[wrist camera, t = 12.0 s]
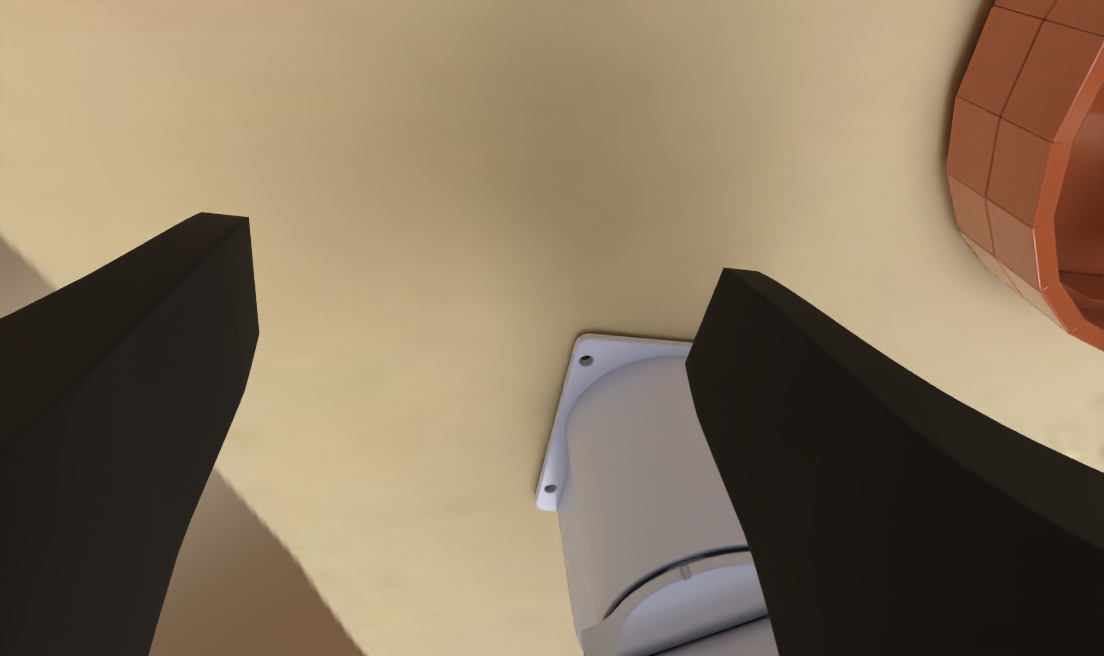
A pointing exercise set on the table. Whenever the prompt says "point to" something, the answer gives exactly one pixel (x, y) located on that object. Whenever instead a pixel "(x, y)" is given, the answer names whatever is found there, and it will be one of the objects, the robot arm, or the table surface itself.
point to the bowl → (1036, 157)
